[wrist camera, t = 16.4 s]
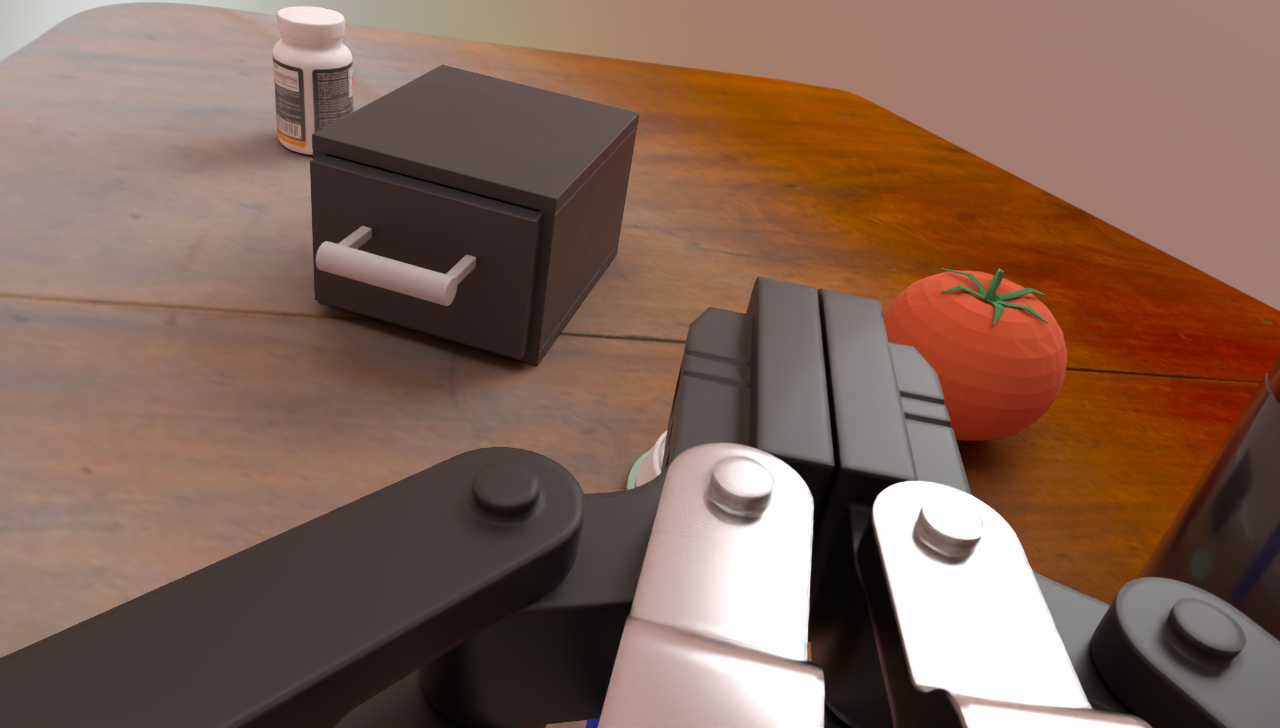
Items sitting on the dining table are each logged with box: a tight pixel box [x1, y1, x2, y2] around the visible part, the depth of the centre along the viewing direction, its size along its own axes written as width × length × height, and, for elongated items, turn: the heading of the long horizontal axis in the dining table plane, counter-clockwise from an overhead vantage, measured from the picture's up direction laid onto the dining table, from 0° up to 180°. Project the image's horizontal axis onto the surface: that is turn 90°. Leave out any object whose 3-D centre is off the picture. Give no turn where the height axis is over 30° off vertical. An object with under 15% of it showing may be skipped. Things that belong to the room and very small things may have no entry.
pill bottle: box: [273, 6, 353, 155], centre depth 72 cm, size 6×6×10 cm
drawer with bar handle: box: [310, 154, 544, 359], centre depth 55 cm, size 19×13×8 cm, turn 164°
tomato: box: [883, 269, 1067, 441], centre depth 52 cm, size 10×10×10 cm
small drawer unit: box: [312, 65, 639, 366], centre depth 58 cm, size 16×14×10 cm
